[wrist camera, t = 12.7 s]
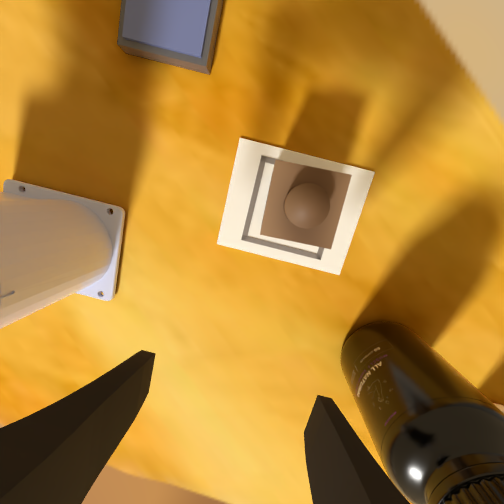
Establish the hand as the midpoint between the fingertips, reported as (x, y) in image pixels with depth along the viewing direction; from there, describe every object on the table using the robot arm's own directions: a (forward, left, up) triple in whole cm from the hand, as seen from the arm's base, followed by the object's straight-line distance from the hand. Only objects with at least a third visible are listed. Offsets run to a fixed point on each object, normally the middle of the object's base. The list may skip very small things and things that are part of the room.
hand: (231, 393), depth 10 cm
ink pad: (-10, +18, -10) cm, 23 cm away
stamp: (+2, +8, -10) cm, 13 cm away
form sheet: (+2, +8, -10) cm, 13 cm away
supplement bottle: (+12, -2, -10) cm, 16 cm away
